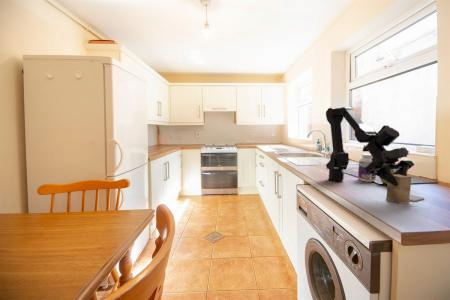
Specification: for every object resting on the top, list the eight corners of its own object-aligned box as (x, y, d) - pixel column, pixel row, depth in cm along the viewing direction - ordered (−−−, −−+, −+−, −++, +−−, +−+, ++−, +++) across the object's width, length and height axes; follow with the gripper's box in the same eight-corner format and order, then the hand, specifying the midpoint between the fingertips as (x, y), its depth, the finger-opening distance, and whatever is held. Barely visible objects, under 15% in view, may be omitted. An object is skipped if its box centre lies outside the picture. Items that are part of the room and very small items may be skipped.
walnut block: (386, 199, 88) (388, 174, 88) (396, 198, 90) (398, 174, 89) (398, 203, 84) (400, 177, 83) (409, 202, 85) (411, 176, 84)
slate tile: (390, 196, 93) (390, 194, 93) (401, 193, 96) (401, 192, 96) (413, 201, 86) (413, 200, 86) (424, 199, 89) (424, 197, 89)
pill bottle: (370, 179, 125) (372, 153, 123) (378, 182, 117) (380, 155, 115) (354, 178, 125) (356, 153, 124) (362, 182, 117) (364, 155, 116)
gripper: (373, 140, 86) (398, 174, 77) (411, 140, 90) (440, 172, 81) (355, 158, 95) (376, 190, 85) (391, 157, 99) (415, 188, 89)
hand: (402, 185), depth 85 cm, fingers closed on walnut block, 5 cm apart
